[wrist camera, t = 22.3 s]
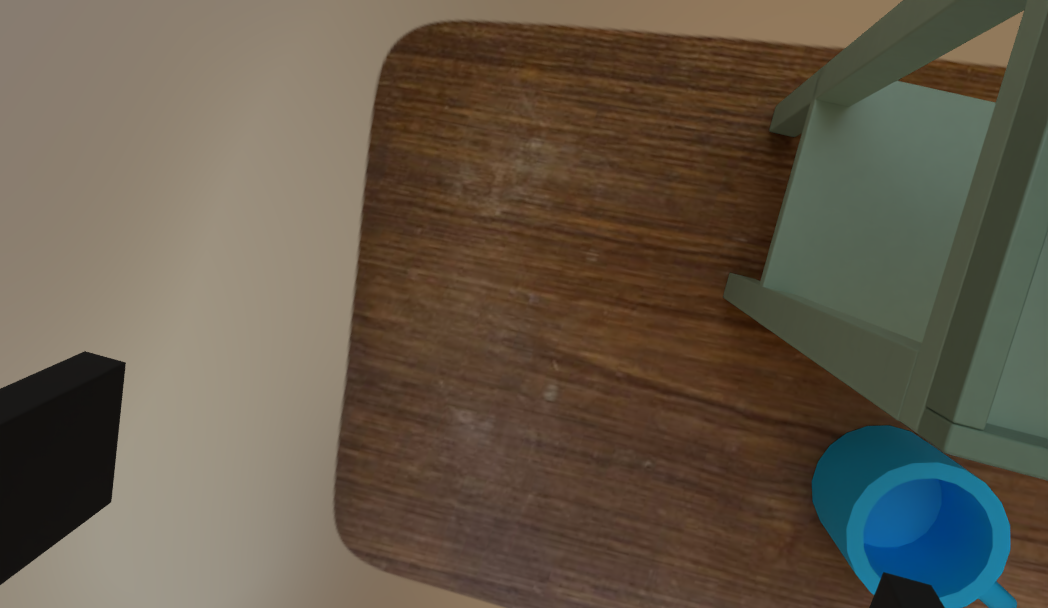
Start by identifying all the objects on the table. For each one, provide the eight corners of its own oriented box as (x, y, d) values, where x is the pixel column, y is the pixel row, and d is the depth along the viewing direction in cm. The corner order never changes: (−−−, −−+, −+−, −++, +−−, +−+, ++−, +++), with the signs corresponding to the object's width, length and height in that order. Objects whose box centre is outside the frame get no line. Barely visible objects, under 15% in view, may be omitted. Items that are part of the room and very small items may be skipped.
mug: (783, 491, 52) (812, 540, 44) (877, 397, 51) (925, 429, 42) (929, 622, 51) (985, 695, 43) (1027, 530, 50) (1104, 588, 42)
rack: (722, 297, 51) (942, 453, 15) (775, 105, 50) (1152, -211, 14) (918, 347, 50) (1644, 639, 14) (978, 151, 49) (1950, -65, 13)
